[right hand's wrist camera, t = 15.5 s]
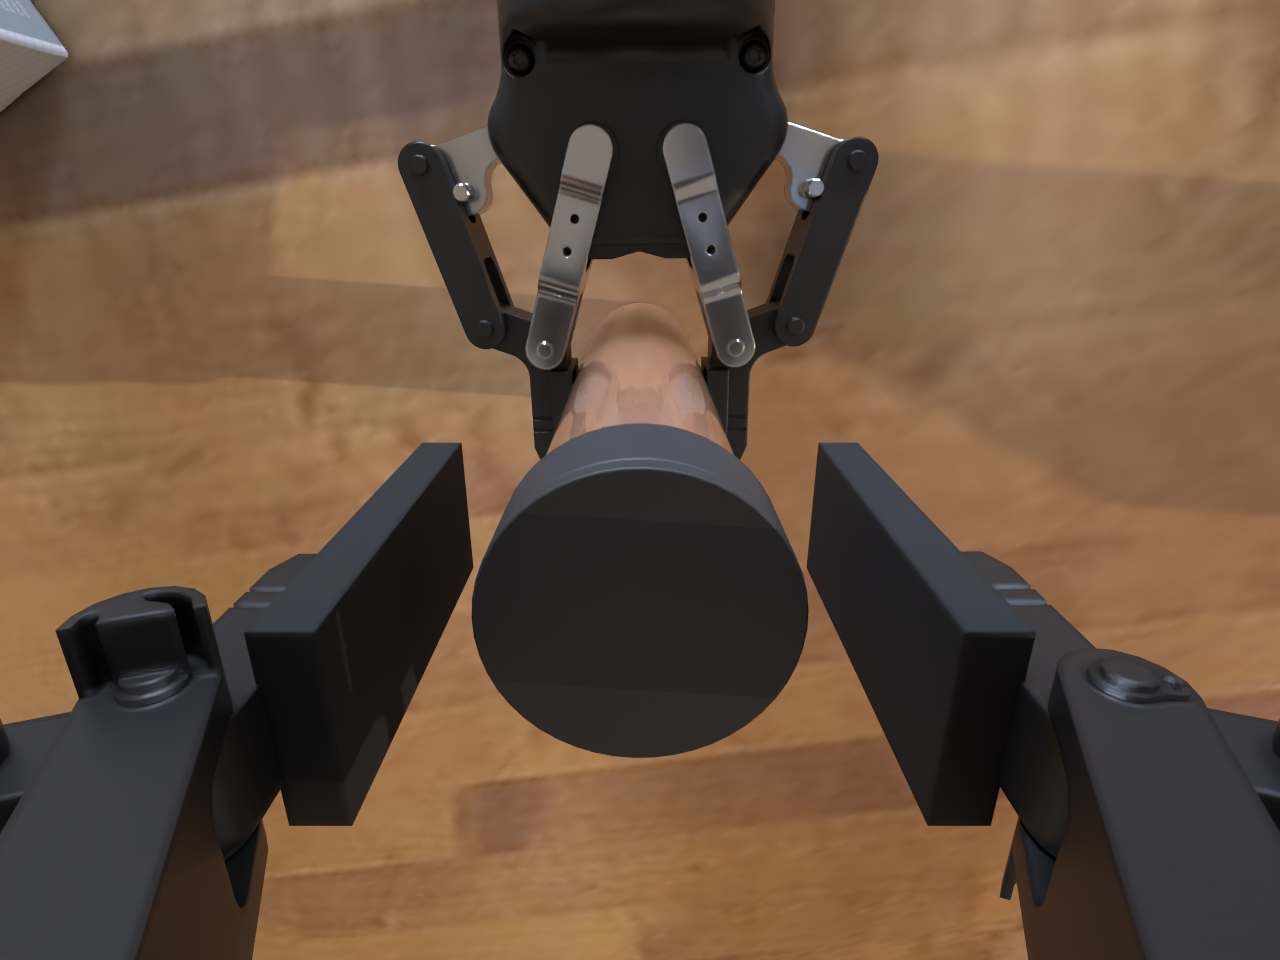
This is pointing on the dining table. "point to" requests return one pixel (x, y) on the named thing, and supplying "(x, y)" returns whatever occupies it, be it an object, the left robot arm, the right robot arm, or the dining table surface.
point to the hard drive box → (24, 49)
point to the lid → (639, 594)
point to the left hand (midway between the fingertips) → (641, 468)
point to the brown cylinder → (640, 379)
